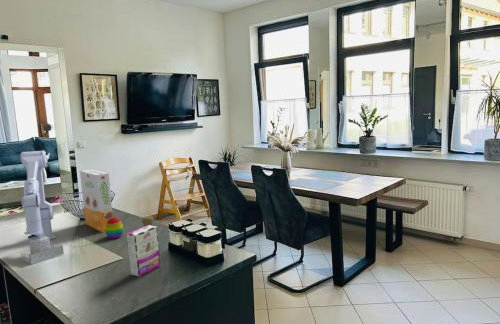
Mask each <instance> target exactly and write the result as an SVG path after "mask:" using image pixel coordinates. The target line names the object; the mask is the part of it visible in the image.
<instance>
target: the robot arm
mask: <svg viewBox="0 0 500 324" xmlns="http://www.w3.org/2000/svg"><path fill="white" fill-rule="evenodd" d="M20 161H21V164H22V165H23V167H24V168H25V169H26V180H25V181H24V183H23V196H21V199H20V201H21V206H22V210H23V213H24V217H25V225H26V228H25V229H26V230H25V232H24V235H27V238H28V239H29V238H31V237H34V236H38V237H39V238H43V237H44V236H45V237H49V240H53V239H56V238H57V236H55V235H53V229H52V221H53V219H54V209H53V205H52V203H51V202H49V201H47V200H46V197H45V196H46V195H45V187H44V186H45V185H44V177H43V174H44V173H43V170H44V168H46V167H47V154H46V151H45V150H33V151H22V152H20Z"/></svg>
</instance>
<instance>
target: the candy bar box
mask: <svg viewBox="0 0 500 324" xmlns="http://www.w3.org/2000/svg"><path fill="white" fill-rule="evenodd" d="M126 240H127V250H128V258H129V259H128V260H129V267H130V275H131V276H134V277H137V278H140V277H143V276H144V275H146V274H148V273H150V272H151V271H154V270H155V269H157V268H159V267H161V257H160V255H161V254H160V246H159V245H160V244H159V236H158V226H156V225H153V226H151V225H148V226H145V227H144V226H143V227H140V228H138V229H136V230H132V231H129V232H128V233H126Z"/></svg>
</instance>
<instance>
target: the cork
mask: <svg viewBox="0 0 500 324" xmlns="http://www.w3.org/2000/svg"><path fill="white" fill-rule="evenodd" d="M141 221H142V224H143V227H145V226H148V225H151V226H154V217H153V216H150V215H147V216H144V217H142V220H141Z"/></svg>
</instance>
